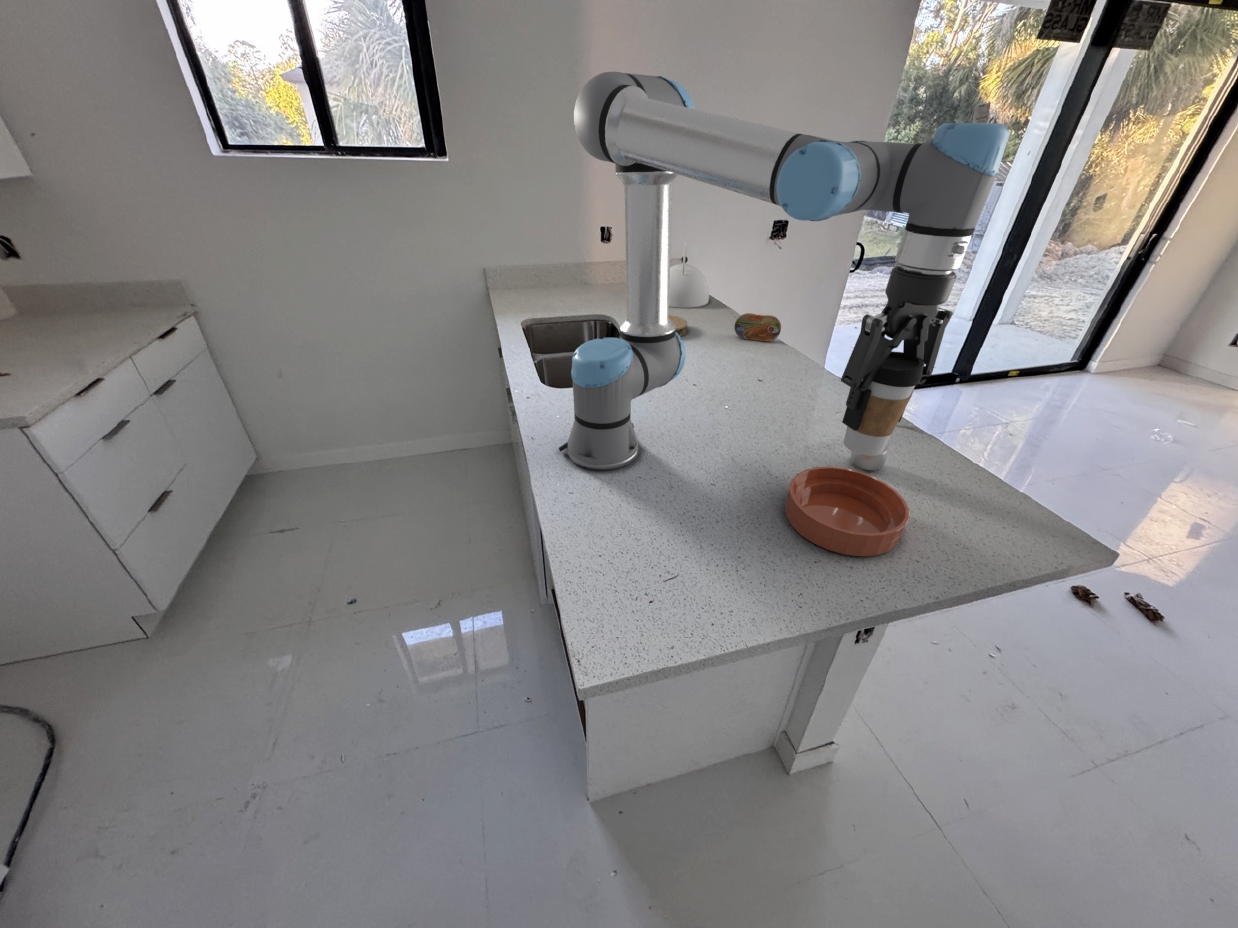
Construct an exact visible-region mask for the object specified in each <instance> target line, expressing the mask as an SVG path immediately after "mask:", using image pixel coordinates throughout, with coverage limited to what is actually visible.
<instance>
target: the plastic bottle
mask: <svg viewBox="0 0 1238 928" xmlns="http://www.w3.org/2000/svg"><path fill="white" fill-rule="evenodd" d="M893 433H894V431H893V432H892V434H891V436H890V438H889V440H888V442H887V444H886V446H885V448H884V450H883V452H882V453H881V454H879V455H875V456H867V455H862V454H858V453H855V452H853V451H851V450H850V460H851V462H852V463H853V464H854V466H856V467H857V468H860V469H861V470H862V469H863V470H866V471H878V470H879V469H881V468H883V467H884V465H885V464H886V462H887V459H888V454H889V447H890V443H891V438H892V435H893Z"/></svg>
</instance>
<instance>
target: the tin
mask: <svg viewBox="0 0 1238 928" xmlns="http://www.w3.org/2000/svg"><path fill="white" fill-rule="evenodd" d="M734 322H735V323H734V332H735V334H736V335H737V337H739V338H740V339H743V340H748V341H756V342H765V343H770V342H772V341H775V340H776V339H778V337H779V336H780V333H781V331H782V324H781V321H780V320H779V319H778V317H776V316H775V315H771V314H762V313H750V312H746V313H744V314H741V315H740V316H738V317H737V319H736V321H734Z"/></svg>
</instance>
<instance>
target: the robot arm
mask: <svg viewBox="0 0 1238 928" xmlns="http://www.w3.org/2000/svg"><path fill="white" fill-rule="evenodd" d="M573 124H574V130H575V133H576V136H577V138H578V141H579V144H580V145H581V146H582V147H583V150H585V151H586V152H587V153H588V154H589V155H590V156H591V157H593V158H595V159H596V160H599V161H602V162H608V163H612V164H614V165H615V175H616V176H617V178H618V179H619V180H620V181H621V183H622V184H623V186H624V234H625V237H624V241H625V243H624V244H625V291H626V293H625V294H626V319H625V320H624V321H623V322H622V323H621V324H620V326H619V337H603V338H593V339H591V340H588V341H586V342H584V343H582V344H581V345H580V346H578V347H577V348H576V349H575V351H574V353H573V354H572V358H571V371H570V375H571V380H572V396H573V397H572V398H573V412H574V413H573V415H574V420H573V424H572V426H571V427H572V428H571V430H570V433H569V437H568V440H567V442H565V443H564V444H562V445H561V446H559V447H558V450H559V452H562V451H564V450H565V449H567V455H568V458H569V459H570V460H571V461H572V462H573V463H574V464H575V465H578V466H579V467H581V468H585V469H588V470H592V471H612V470H617V469H620V468H623V467H626V466H628V465H629V464H631V463H632V462H634V461H635V460H636V458H637V457H638V455H639V439H638V437H637V434H636V431H635V426H634V423H633V422H632V419H631V413H632V401H633V400H635V399H636V398H638V397H641V396H643V395H644V394H647V393H649V392H651V391H653V390H655V389H657V388H661V387H664V386H666V385H668V384H669V383H670V382H671V381H673V380H674V379H676V378H677V377H678V376H679V375H680V374H681V372H682V370H683V368H684V365H685V362H686V348H685V343H684V342H683V341H682V340H681V339H682V338H681V336H679V335H678V333H676V326H675V324H674V323H673V322H672V321H671V320H670V319H669V315H670V306H669V286H670V268H671V245H672V244H671V243H672V212H673V211H672V209H673V184H674V182H675V180H677V178H678V177H679V176H682V177H686V178H688V179H692V180H695V181H698V182H701V183H705V184H707V185H711V186H715V187H718V188H721V189H725V190H727V191H731V192H734V193H737V194H739V195H740V194H741V195H743V196H748V197H750V198H754V199H756V200H760V201H763V202H766V203H769V204H774V205H775V206H779V207H781V208H782V210H783V211H784V212H785V213H786V214H787V215H788V216H789V217H791V218H793V219H794V220H798V221H802V222H803V221H807V222H808V221H809V222H821V221H824V220H828V219H831V218H833V217H837V216H841V215H845V214H850V213H856V212H860V211H877V212H889V213H891V212H892V213H896V214H898V213H899V214H908V216H907V217H908V218H907V221H906V223H905V227H904V230H903V233H902V237H901V240H900V241H899V245H898V248H897V251H896V255H895V258H894V261H895V263H896V264H897V265H895V266H894V267H893V268H891V272H890V274H889V278H888V281H887V285H886V287H885V290H884V291H885V295H886V297H887V302H886V304H885V306H884V308H883V309H882V310H881V312H880V313H878V314H876V315H870V314H867V313H866V314H865V315H864V316H863V317H862V319H861V326H860V332H859V335H858V337H857V339H856V342H855V344H854V347H853V348H852V351H851V354H850V356H849V357H848V361H847V363H846V366H845V368H844V370H843V373H842V376H841V378H840V382H841V383H843V384H845V385H846V386H848V387H850V388H849V392H848V395H847V398H846V401H845V406H846V408H845V412H844V415H843V418H842V421H841V422H842V424H844V425H845V426H846V427H847V426H848V427H850V428H851V429H852V430H854V431H856V430H858V429H859V426H860V423H861V420H862V418H863V415H864V412H865V409H866V406H867V403H868V400H869V397H870V394H871V391H870V390H869V389H868V387H869V385H870V384H871V382H872V381H873V379H874V377H875V376H876V375H877V373H878V371H879V369H880V367H882V365H883V364H884V362H885V361H886V359H887V358H888V356H889V354H890V353H891V351H892V352H893V350H894V349H897V348H899V346H900V345H901V343H902V342H903V345H902V347H903V349H902V352H903V354H904V356H905V358H906V359H908V360H910V361H913V362H917V359H918V358H921V359H923V360H924V368H923V372H922V378H921V380H920V383H919V384H918V385H923V384H925V383H926V381H927V378H928V377H930V376H931V375H932V374H933V372H934V368H935V365H936V361H937V359H938V356H939V355H938V354H939V351H940V348H941V345H942V341H943V338H944V334H945V331H946V328H947V326H948V324H949V323H950V321H951V319H952V317H953V314H954V313H953V311H951V310H948V309H945V308H942V307H939V305H943V304H945V303H946V302H947V301H948V300H949V298H950V295H951V292H952V290H953V287H954V285H955V282H956V280H957V275H956V274H957V273H956V272H954V271H956V270H958V269H960V268H961V266H962V263H963V260H964V257H965V256H966V253H967V250H968V248H969V244H970V242H971V240H972V237H973V235H974V232H975V230H976V227H977V225H978V222H979V221H980V217H981V215H982V213H983V211H984V208H985V205H986V203H987V201H988V198H989V195H990V193H991V190H992V188H993V185H994V183H995V181H996V179H997V176H998V175H999V173H1000V165H1001V163H1002V160H1003V157H1004V154H1005V150H1006V147H1007V145H1008V142H1009V139H1010V135H1011V134H1010V129H1009V127H1008V126H1007V125H1006V124H1003V123H995V122H952V123H951V122H946V123H942V124H940V125H939V126H938V127H937V128H936V130H935V133H934V135H933V137H932V138H931V139H930V142H918V143H912V142H911V143H909V142H890V141H868V140H863V139H861V140H851V141H840V140H839V141H838V140H833V139H828V138H824V137H820V136H815V135H811V134H804V133H800V132H796V131H792V130H787V129H784V128H778V127H774V126H769V125H766V124H760V123H758V122H752V121H748V120H744V119H739V118H735V117H731V116H727V115H721V114H718V113H713V112H709V111H704V110H700V109H696V108H695V105H694V101H693V100H692V97H691V95H690V93H688V91H687V89H686V88H685V87H684V86H683V85H682V84H681V83H679V82H677V81H675V80H673V79H668V78H667V77H664V76H662V75H647V74H636V73H629V72H627V73H626V72H622V71H605V72H600V73H599V74H596V75H595V76H593V77H591V78H590V79H589V80H588V81H587V82H585V84H584V85H583V86H582V88H581V89H580V91H579V93H578V95H577V98H576V101H575V105H574V110H573ZM887 337H888V338H887ZM925 377H927V378H925ZM862 379H863V381H861V380H862ZM915 388H916V386H915V387H914V389H913V391H912V394H913V392H914V390H915ZM905 411H906V409H905V410H904V412H903V413H902V415H901V417H900V419H899V421H898V423H901V421H902V418H903V416H904V413H905Z"/></svg>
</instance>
